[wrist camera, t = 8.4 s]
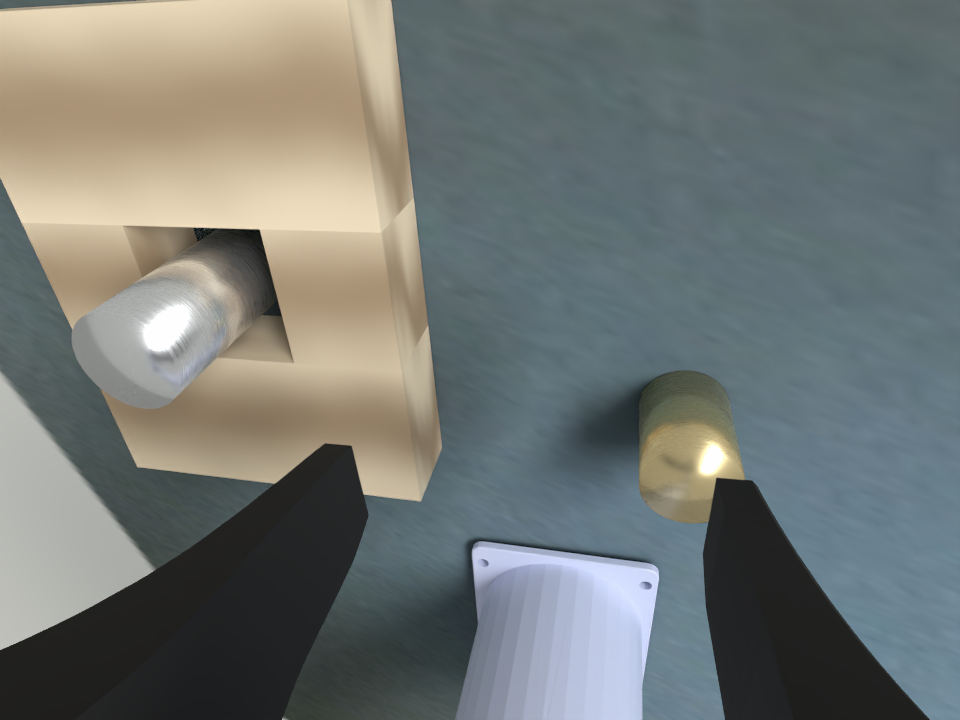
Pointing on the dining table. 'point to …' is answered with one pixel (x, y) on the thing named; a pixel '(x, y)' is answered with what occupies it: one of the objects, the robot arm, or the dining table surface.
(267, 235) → the hole block
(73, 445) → the dining table surface
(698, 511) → the short pin
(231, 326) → the long pin
